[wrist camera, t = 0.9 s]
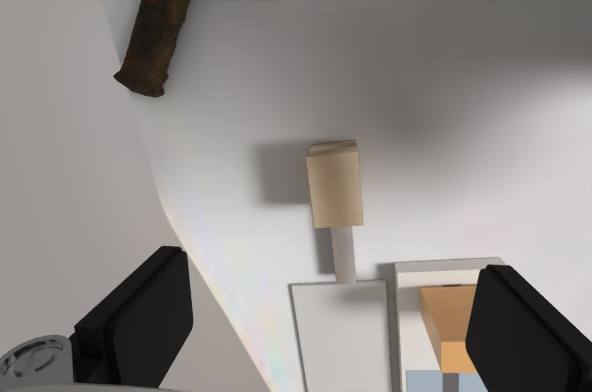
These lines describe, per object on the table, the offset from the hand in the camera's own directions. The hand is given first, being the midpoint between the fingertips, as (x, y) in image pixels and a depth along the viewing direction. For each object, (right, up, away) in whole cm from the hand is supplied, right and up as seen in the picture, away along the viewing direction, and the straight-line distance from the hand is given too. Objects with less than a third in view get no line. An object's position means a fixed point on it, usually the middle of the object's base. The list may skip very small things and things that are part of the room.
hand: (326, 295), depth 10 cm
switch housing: (+15, -12, +25) cm, 32 cm away
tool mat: (+5, -14, +27) cm, 31 cm away
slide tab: (+14, -7, +21) cm, 26 cm away
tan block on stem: (+3, +2, +22) cm, 23 cm away
